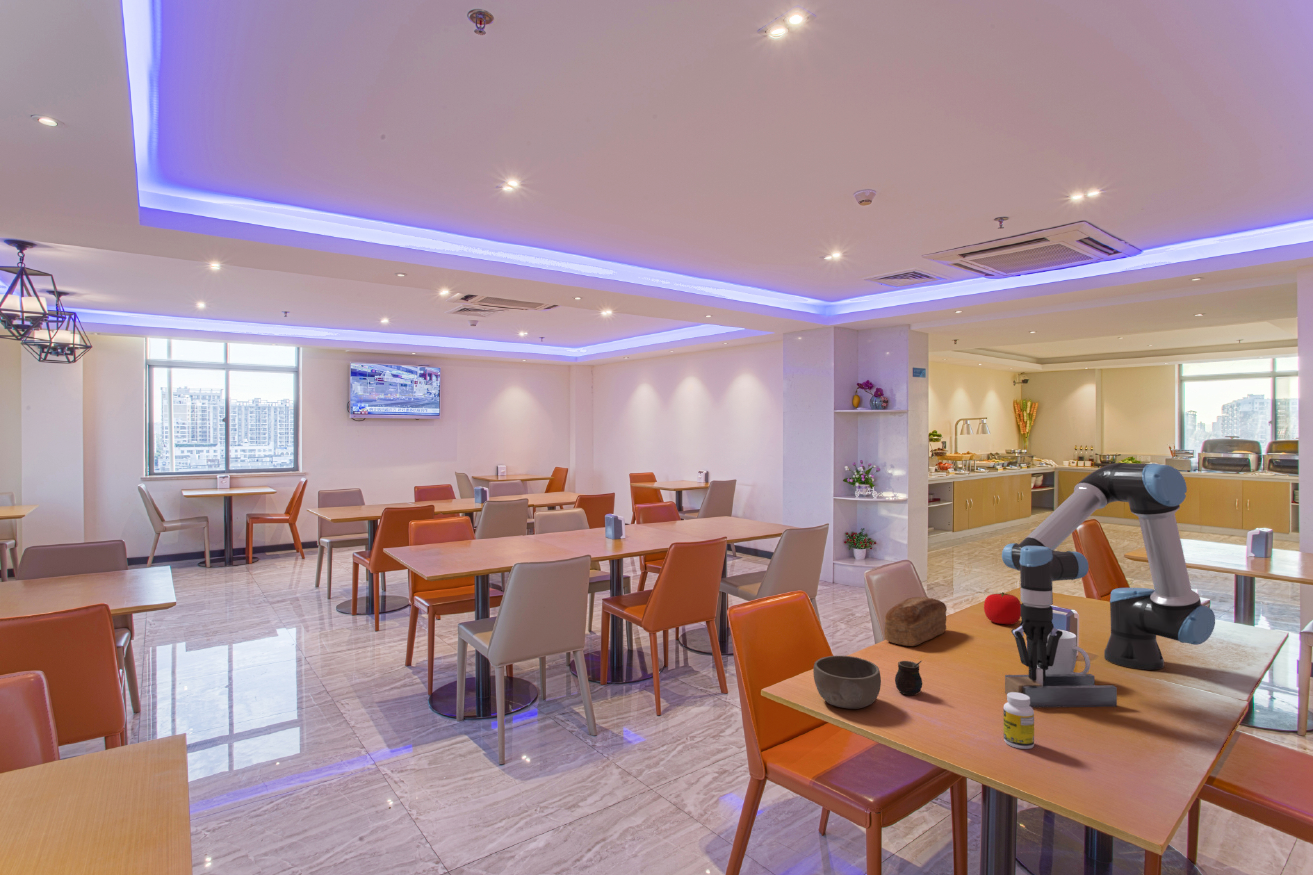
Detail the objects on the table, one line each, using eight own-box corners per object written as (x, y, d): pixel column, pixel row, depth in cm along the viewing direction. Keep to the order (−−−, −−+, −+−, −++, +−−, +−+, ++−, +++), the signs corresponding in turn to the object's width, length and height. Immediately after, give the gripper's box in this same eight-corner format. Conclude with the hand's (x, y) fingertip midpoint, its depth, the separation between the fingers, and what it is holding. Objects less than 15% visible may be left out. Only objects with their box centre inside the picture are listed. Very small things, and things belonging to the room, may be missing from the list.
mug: (1098, 683, 188) (1098, 637, 189) (1080, 691, 182) (1080, 644, 183) (1044, 668, 201) (1044, 625, 201) (1026, 675, 195) (1025, 631, 195)
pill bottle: (997, 738, 154) (997, 691, 154) (1022, 737, 154) (1022, 690, 154) (1014, 750, 148) (1014, 701, 148) (1040, 749, 148) (1040, 700, 148)
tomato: (991, 627, 246) (991, 596, 246) (979, 617, 259) (979, 588, 259) (1028, 628, 243) (1027, 597, 244) (1014, 618, 257) (1014, 589, 257)
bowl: (846, 721, 164) (845, 681, 164) (799, 697, 179) (799, 660, 180) (895, 708, 172) (895, 669, 172) (847, 686, 187) (846, 651, 188)
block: (1028, 693, 179) (1027, 676, 180) (1041, 702, 173) (1041, 685, 173) (1005, 693, 179) (1005, 677, 179) (1018, 702, 173) (1018, 685, 173)
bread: (951, 632, 240) (951, 595, 240) (913, 650, 219) (913, 610, 219) (919, 625, 249) (919, 590, 249) (879, 643, 228) (879, 604, 228)
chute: (1091, 692, 182) (1090, 674, 182) (1116, 706, 172) (1116, 687, 172) (1005, 693, 181) (1005, 674, 181) (1026, 707, 171) (1026, 688, 171)
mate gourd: (901, 685, 187) (901, 650, 187) (927, 693, 182) (928, 657, 182) (890, 692, 182) (890, 656, 182) (916, 700, 177) (917, 663, 177)
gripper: (1051, 600, 180) (1052, 686, 180) (1004, 601, 180) (1005, 687, 180) (1069, 607, 173) (1070, 697, 173) (1020, 608, 173) (1021, 697, 173)
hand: (1037, 691), depth 176 cm, fingers closed
